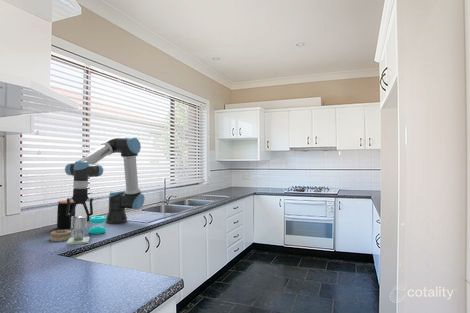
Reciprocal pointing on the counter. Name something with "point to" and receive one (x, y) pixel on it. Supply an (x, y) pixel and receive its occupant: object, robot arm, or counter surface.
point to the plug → (78, 228)
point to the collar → (60, 235)
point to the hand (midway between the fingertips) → (79, 227)
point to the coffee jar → (64, 215)
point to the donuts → (97, 228)
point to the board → (84, 241)
